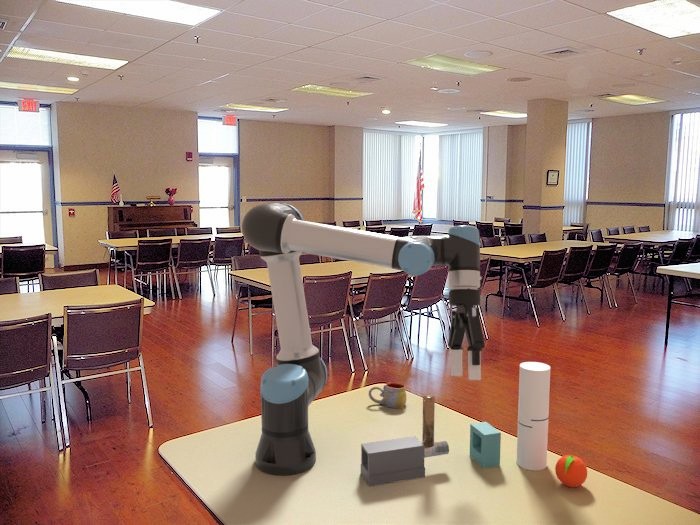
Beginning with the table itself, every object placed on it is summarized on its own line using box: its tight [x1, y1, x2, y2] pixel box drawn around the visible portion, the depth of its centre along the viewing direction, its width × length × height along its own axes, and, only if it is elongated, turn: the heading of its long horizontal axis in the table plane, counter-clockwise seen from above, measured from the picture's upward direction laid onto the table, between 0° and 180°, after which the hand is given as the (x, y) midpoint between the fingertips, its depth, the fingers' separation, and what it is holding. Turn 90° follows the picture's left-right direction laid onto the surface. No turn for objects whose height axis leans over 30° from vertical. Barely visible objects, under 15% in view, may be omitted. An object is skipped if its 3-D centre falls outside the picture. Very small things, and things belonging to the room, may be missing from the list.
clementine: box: [554, 454, 588, 488], centre depth 132 cm, size 8×7×7 cm
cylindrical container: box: [516, 361, 551, 472], centre depth 142 cm, size 7×7×25 cm
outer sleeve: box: [360, 435, 426, 487], centre depth 137 cm, size 6×14×8 cm, turn 107°
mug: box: [368, 382, 408, 409], centre depth 183 cm, size 12×7×7 cm, turn 81°
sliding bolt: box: [421, 394, 450, 459], centre depth 138 cm, size 3×18×15 cm, turn 107°
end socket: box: [469, 421, 502, 469], centre depth 144 cm, size 7×4×8 cm, turn 17°
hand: (465, 378), depth 138 cm, fingers open, 13 cm apart
